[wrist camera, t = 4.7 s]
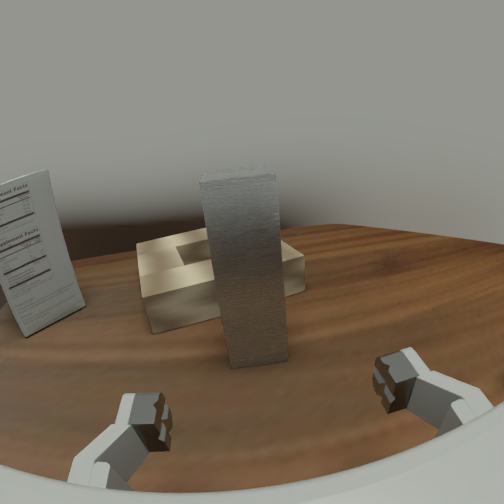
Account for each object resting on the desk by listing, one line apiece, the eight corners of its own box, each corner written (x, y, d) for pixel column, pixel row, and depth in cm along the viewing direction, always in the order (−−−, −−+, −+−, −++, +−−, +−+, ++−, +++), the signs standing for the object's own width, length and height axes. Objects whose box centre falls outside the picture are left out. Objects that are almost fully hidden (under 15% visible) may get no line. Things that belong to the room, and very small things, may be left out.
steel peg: (278, 328, 27) (264, 165, 22) (288, 360, 23) (275, 173, 18) (229, 335, 27) (203, 172, 22) (231, 368, 23) (199, 182, 18)
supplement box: (88, 306, 34) (50, 167, 27) (25, 340, 27) (-26, 193, 21) (64, 286, 39) (33, 172, 33) (12, 312, 33) (-26, 194, 27)
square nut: (250, 244, 47) (247, 218, 45) (305, 290, 33) (304, 255, 31) (143, 270, 42) (136, 243, 40) (153, 334, 28) (142, 297, 26)
